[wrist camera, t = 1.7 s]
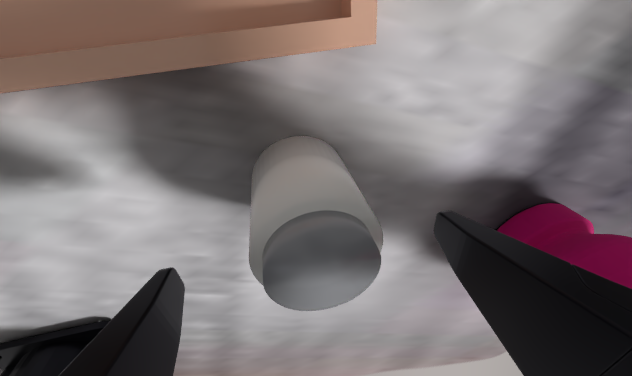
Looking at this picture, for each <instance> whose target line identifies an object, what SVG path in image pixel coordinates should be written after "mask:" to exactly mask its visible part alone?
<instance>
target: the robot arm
mask: <svg viewBox="0 0 632 376" xmlns="http://www.w3.org/2000/svg"><path fill="white" fill-rule="evenodd" d="M434 235H435V237H436V239H437V241H438V243H439V245H440V247H441V248H442V250H443V252H444V254H445V256H446V258H447V260H448V262H449V263H450V265H451V267H452V269H453V271H454V272H455V274H456V276H457V277H458V279H459V280H460V282H461V283H462V285H463V286H464V288H465V289H466V291H467V292H468V294H469V295H470V297H471V298H472V300H473V301H474V303H475V304H476V306H477V307H478V308H479V310H480V311H481V313H482V314H483V316H484V317H485V319H486V320H487V322H488V323H489V325H490V326H491V328H492V329H493V331H494V332H495V334H496V335H497V337H498V338H499V340H500V341H501V343H502V344H503V346H504V347H505V349H506V350H507V352H508V353H509V355H510V356H511V358H512V359H513V360H514V362H515V363H516V365H517V366H518V368H519V369H520V371H521V372H522V374H523V375H524V376H632V289H631V288H628V287H626V286H623V285H621V284H618V283H616V282H613V281H611V280H608V279H606V278H604V277H601V276H599V275H597V274H594V273H592V272H590V271H587V270H585V269H583V268H580V267H578V266H576V265H574V264H572V265H571V264H570V263H569V262H567V261H564V260H562V259H560V258H558V257H555V256H553V255H551V254H548V253H546V252H544V251H542V250H539V249H537V248H535V247H532V246H530V245H528V244H526V243H523V242H521V241H519V240H516V239H514V238H512V237H510V236H507V235H505V234H503V233H500V232H498V231H496V230H494V229H491V228H489V227H487V226H484V225H482V224H480V223H478V222H475V221H473V220H471V219H469V218H466V217H464V216H462V215H459V214H457V213H455V212H453V211H443V212H439V213H438V214H437V216H436V221H435V225H434ZM184 292H185V287H184V283H183V281H182V280H181V278H180V276H179V275H178V273H177V271H176V270H175V269H174V268H166V269H161V270H159V271H158V272H157V273H156V274H155V275H154V276H153V277H152V278H151V279H150V280H149V281H148V282H147V283H146V284H145V285H144V286H143V287H142V288H141V289H140V290H139V291H138V293H137V294H136V295H135V296H134V297H133V298H132V299H131V300H130V301H129V302H128V303H127V304H126V305H125V306H124V307H123V308H122V309H121V310H120V311H119V313H118V314H117V315H116V316H115V317H114V318H113V319H112V320H111V321H102V322H97V323H93V324H88V325H84V326H79V327H74V328H70V329H65V330H61V331H56V332H52V333H47V334H43V335H38V336H33V337H29V338H24V339H20V340H15V341H11V342H6V343H2V344H0V368H1V369H3V370H4V371H3V372H2V374H1V375H0V376H173V373H174V368H175V363H176V358H177V353H178V348H179V342H180V336H181V326H182V315H183V303H184Z"/></svg>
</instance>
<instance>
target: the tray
mask: <svg viewBox="0 0 632 376" xmlns="http://www.w3.org/2000/svg"><path fill="white" fill-rule="evenodd" d="M376 25H377V0H0V93H7V92H15V91H22V90H30V89H38V88H45V87H53V86H60V85H68V84H75V83H83V82H91V81H98V80H106V79H113V78H121V77H129V76H136V75H144V74H151V73H159V72H167V71H174V70H182V69H189V68H197V67H204V66H212V65H220V64H227V63H235V62H242V61H250V60H258V59H265V58H273V57H280V56H288V55H296V54H303V53H311V52H318V51H326V50H334V49H341V48H349V47H356V46H364V45H371V44H376Z"/></svg>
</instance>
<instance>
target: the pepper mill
mask: <svg viewBox="0 0 632 376" xmlns="http://www.w3.org/2000/svg"><path fill="white" fill-rule="evenodd" d="M497 231H498V232H500V233H503V234H505V235H507V236H510V237H512V238H514V239H516V240H519V241H521V242H523V243H526V244H528V245H530V246H532V247H535V248H537V249H539V250H542V251H544V252H546V253H548V254H551V255H553V256H555V257H558V258H560V259H562V260H564V261H567V262H569V263H570V264H571V265H572V264H574V265H576V266H578V267H580V268H583V269H585V270H587V271H590V272H592V273H594V274H597V275H599V276H601V277H604V278H606V279H608V280H611V281H613V282H616V283H618V284H621V285H623V286H626V287H628V288H631V289H632V238H631V237H627V236H621V235H612V234H594V228H593V225H592V223H591V222H590V221H589V220H587V219H586V218H584V217H582V216H581V215H579V214H577V213H576V212H574V211H572V210H571V209H569V208H568V207H566V206H564V205H562V204H555V203H546V204H540V205H536V206H534V207H531V208H529V209H526V210H524V211H522V212H520V213H518V214H517V215H515V216H513V217H512V218H511V219H509V220H508V221H507V222H505V223H504V224H503V225H502V226H501V227H500V228H499V229H498V230H497Z"/></svg>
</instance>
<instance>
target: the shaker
mask: <svg viewBox="0 0 632 376" xmlns="http://www.w3.org/2000/svg"><path fill="white" fill-rule="evenodd" d="M382 245H383V232H382V228H381V226H380V223H379V222H378V220H377V218H376V217H375V215H374V213H373V212H372V210H371V208H370V207H369V205H368V203H367V201H366V200H365V198H364V196H363V195H362V193H361V191H360V190H359V188H358V186H357V185H356V183H355V181H354V180H353V178H352V176H351V175H350V173H349V171H348V170H347V168H346V166H345V165H344V163H343V161H342V160H341V158H340V156H339V155H338V153H337V152H336V151H335V149H334V148H333V147H331V146H330V145H329V144H327V143H326V142H324V141H322V140H320V139H317V138H314V137H309V136H293V137H288V138H285V139H282V140H279V141H277V142H275V143H274V144H272V145H271V146H269V147H268V148H267V149H266V150H265V151H263V153H262V154H261V155H260V156H259V158H258V159H257V161H256V163H255V165H254V168H253V172H252V186H251V214H250V242H249V263H250V267H251V270H252V272H253V275H254V276H255V277H256V279H257V280H258V281H259V282H260V283H261V284H262V285H263V286H264V289H265V291H266V293H267V294H268V296H269V297H270V298H271V299H272V300H273V301H275V302H276V303H277V304H279V305H281V306H284V307H286V308H289V309H293V310H300V311H316V310H324V309H328V308H332V307H336V306H338V305H341V304H343V303H346V302H348V301H350V300H352V299H353V298H355V297H357V296H358V295H360V294H361V293H362V292H363V291H365V290H366V289H367V288H368V287H369V286H370V285H371V283H372V282H373V281H374V279H375V278H376V276H377V274H378V272H379V269H380V265H381V255H380V252H381V249H382Z"/></svg>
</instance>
